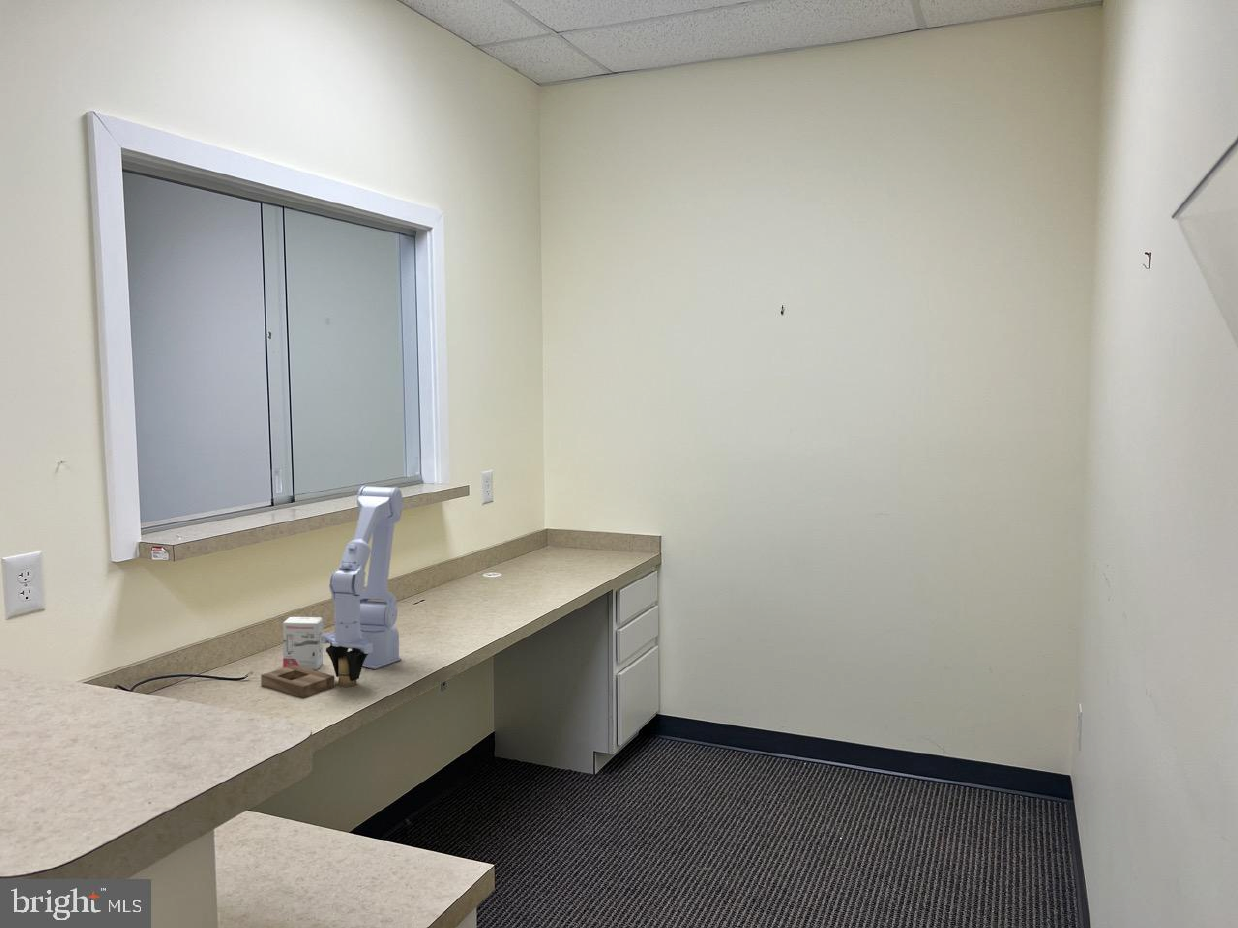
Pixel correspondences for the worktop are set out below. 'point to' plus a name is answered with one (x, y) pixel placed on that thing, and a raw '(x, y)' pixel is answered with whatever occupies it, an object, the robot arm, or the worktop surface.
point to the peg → (344, 673)
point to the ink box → (303, 642)
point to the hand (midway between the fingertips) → (347, 677)
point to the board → (297, 680)
